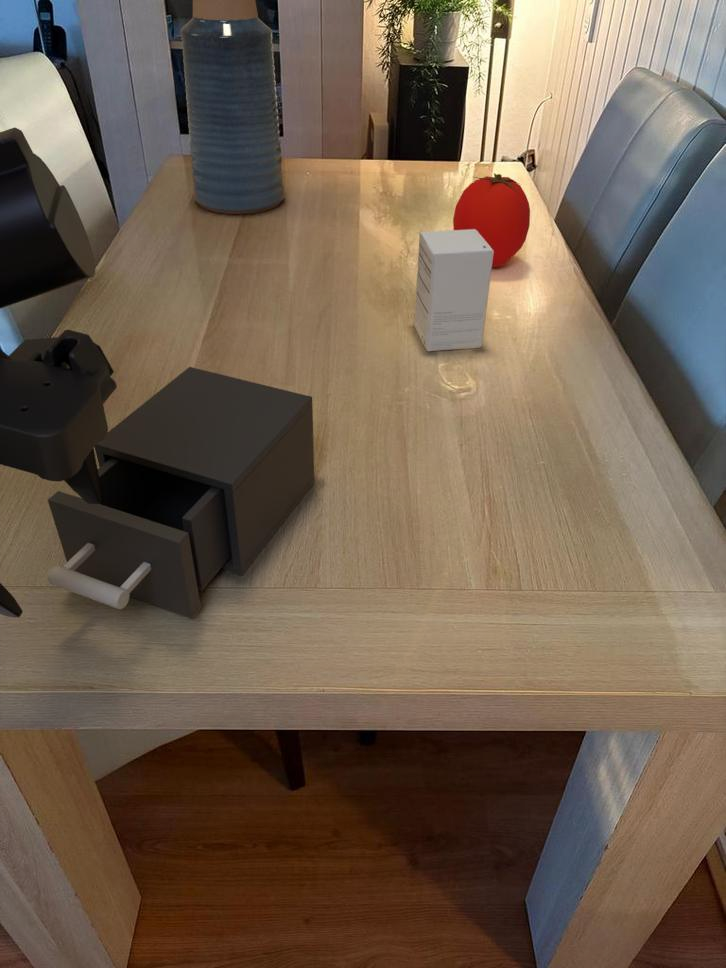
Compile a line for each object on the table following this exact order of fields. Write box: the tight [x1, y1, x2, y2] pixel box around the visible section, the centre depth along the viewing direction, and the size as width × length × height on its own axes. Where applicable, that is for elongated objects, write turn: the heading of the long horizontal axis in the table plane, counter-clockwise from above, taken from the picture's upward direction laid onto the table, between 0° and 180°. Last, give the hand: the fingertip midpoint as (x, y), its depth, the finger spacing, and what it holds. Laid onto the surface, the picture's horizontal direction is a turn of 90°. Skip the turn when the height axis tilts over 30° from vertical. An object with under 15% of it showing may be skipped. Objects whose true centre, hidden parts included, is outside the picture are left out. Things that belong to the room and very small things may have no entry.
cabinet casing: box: [94, 366, 315, 577], centre depth 65 cm, size 14×13×10 cm
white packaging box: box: [413, 229, 494, 352], centre depth 91 cm, size 7×7×13 cm
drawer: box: [47, 457, 232, 620], centre depth 58 cm, size 17×11×8 cm
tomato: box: [452, 172, 531, 268], centre depth 111 cm, size 12×12×13 cm
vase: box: [180, 0, 286, 215], centre depth 126 cm, size 16×16×32 cm
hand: (58, 554), depth 46 cm, fingers open, 9 cm apart
